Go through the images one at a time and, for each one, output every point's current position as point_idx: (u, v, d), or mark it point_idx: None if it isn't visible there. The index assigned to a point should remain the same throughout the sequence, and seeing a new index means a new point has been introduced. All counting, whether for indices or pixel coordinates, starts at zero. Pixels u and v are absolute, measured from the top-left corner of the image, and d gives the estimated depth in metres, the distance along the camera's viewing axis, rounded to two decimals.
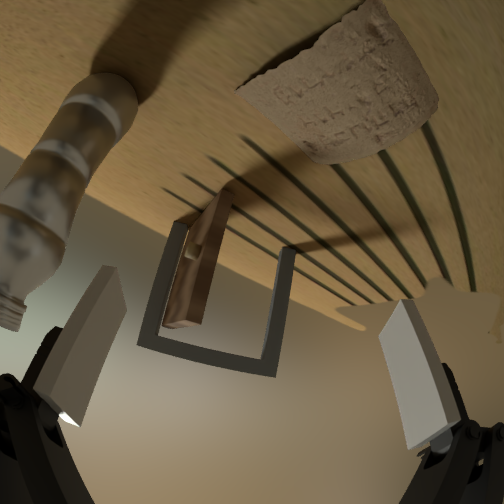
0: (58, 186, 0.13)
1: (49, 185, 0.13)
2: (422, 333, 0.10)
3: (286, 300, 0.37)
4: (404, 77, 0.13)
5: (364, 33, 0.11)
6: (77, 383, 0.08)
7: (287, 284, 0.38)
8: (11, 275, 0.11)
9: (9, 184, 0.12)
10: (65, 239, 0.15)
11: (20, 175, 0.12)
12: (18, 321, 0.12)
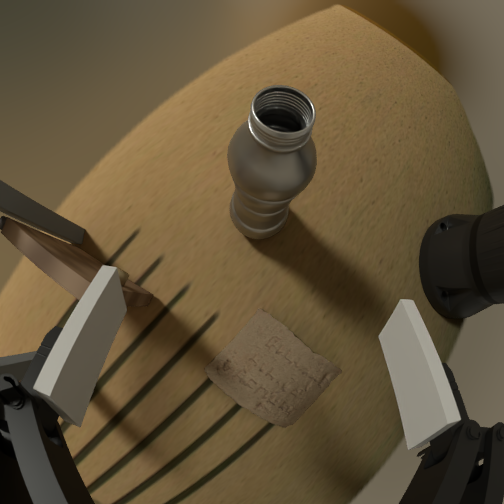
0: (284, 205, 0.22)
1: None
2: (422, 333, 0.10)
3: None
4: (302, 401, 0.29)
5: (323, 373, 0.29)
6: (77, 383, 0.08)
7: None
8: (297, 161, 0.16)
9: None
10: (257, 200, 0.20)
11: None
12: (272, 139, 0.14)
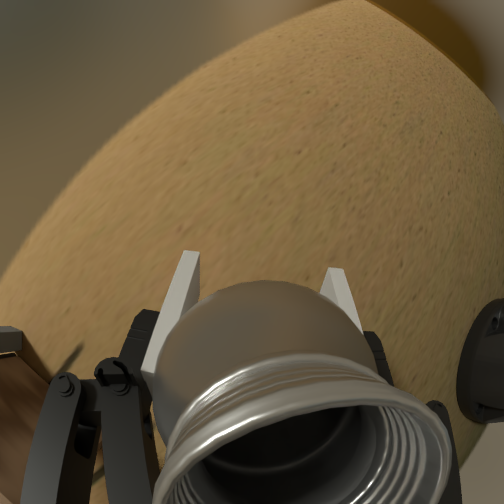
0: None
1: None
2: (344, 298, 0.11)
3: None
4: None
5: None
6: None
7: None
8: None
9: None
10: None
11: None
12: None
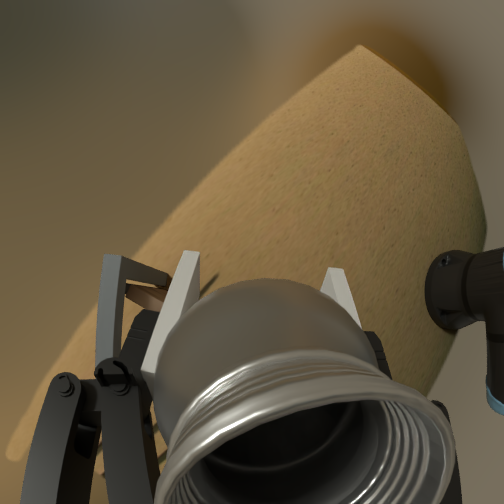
0: None
1: None
2: (344, 298, 0.11)
3: None
4: None
5: None
6: None
7: None
8: None
9: None
10: None
11: None
12: None
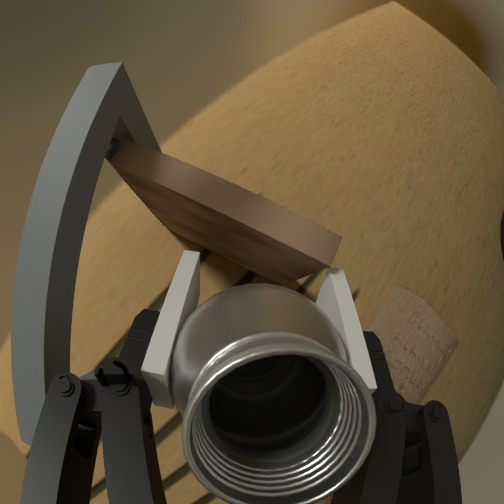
0: None
1: None
2: (344, 298, 0.11)
3: None
4: (432, 378, 0.25)
5: (449, 346, 0.25)
6: None
7: None
8: None
9: None
10: None
11: None
12: (256, 494, 0.04)
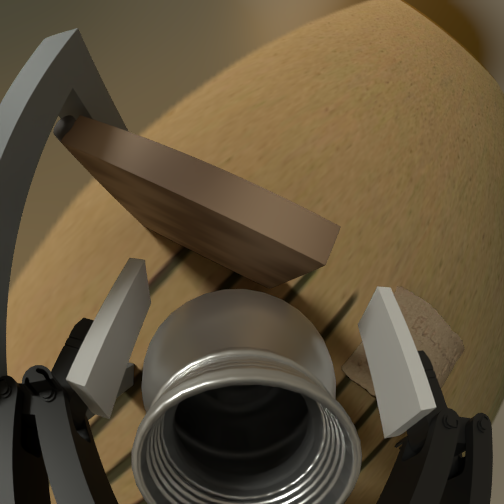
0: None
1: None
2: (397, 319, 0.11)
3: None
4: None
5: (455, 353, 0.22)
6: (108, 373, 0.08)
7: None
8: None
9: None
10: None
11: None
12: None
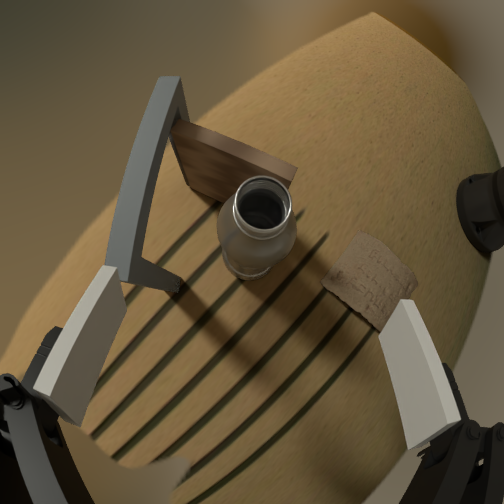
0: None
1: None
2: (422, 333, 0.10)
3: (164, 286, 0.28)
4: (395, 307, 0.36)
5: (408, 282, 0.36)
6: (77, 383, 0.08)
7: (169, 285, 0.30)
8: (279, 240, 0.20)
9: None
10: None
11: None
12: (255, 233, 0.17)
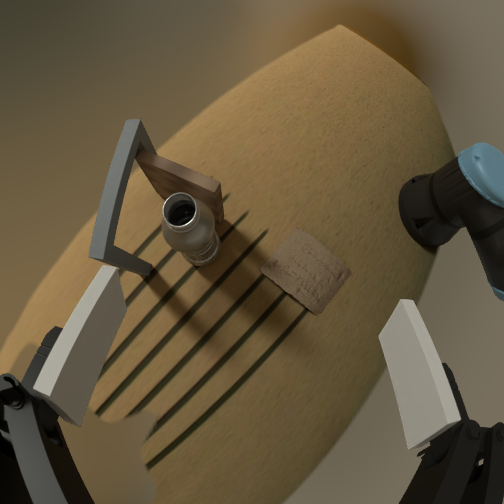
0: (203, 250, 0.35)
1: (206, 247, 0.35)
2: (422, 333, 0.10)
3: (134, 268, 0.38)
4: (327, 292, 0.46)
5: (339, 271, 0.46)
6: (77, 383, 0.08)
7: (139, 268, 0.40)
8: (196, 233, 0.30)
9: None
10: None
11: None
12: (175, 228, 0.27)
